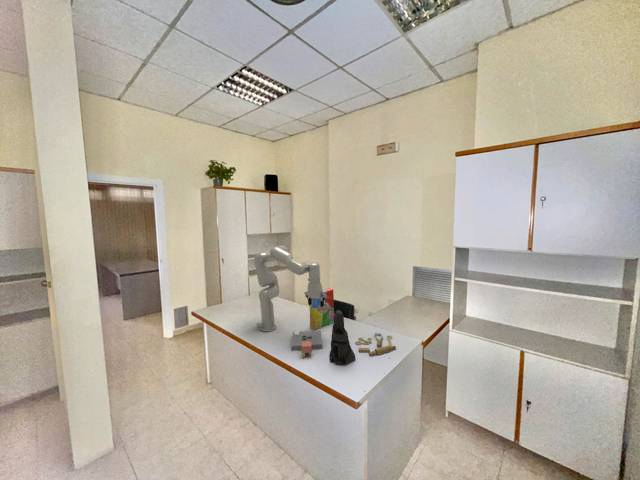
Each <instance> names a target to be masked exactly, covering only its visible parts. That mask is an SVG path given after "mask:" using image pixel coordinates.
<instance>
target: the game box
mask: <svg viewBox="0 0 640 480" xmlns="http://www.w3.org/2000/svg"><path fill="white" fill-rule="evenodd" d="M323 293H325V294H326V295H327V297H326V299H325V300H324V306H323V307H321V306H320V301H321V300H320V299H315V298H311V301H312V304H311V305H309V328H310V329H311V330H312V331H317V330H319V329H321V328H324V327H326V326H329V325H331V324H334V315H335V307H334V306H335V303H334V302H335V301H334V289H333V288H330V287H329V288H325V289H323ZM323 298H324V296H323Z"/></svg>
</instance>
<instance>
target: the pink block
mask: <svg viewBox="0 0 640 480" xmlns="http://www.w3.org/2000/svg"><path fill="white" fill-rule="evenodd" d="M312 350H313V349H312V345H311V341H306V342H302V350H301V353H302V358H306V354H307V353H308V356H311V355H312V353H313V351H312Z"/></svg>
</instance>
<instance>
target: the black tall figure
mask: <svg viewBox="0 0 640 480" xmlns="http://www.w3.org/2000/svg"><path fill="white" fill-rule="evenodd" d="M332 324H333V325H332V330H331V340H330V351H329V354H328V358H329V359H328V360H329V362H330V364H331V363H332V364H335V365H337V366H347V365H349V364H351V363H353V362H355V361H356V360H357V358H356V354H355V352H354V350H353V349H352V346H351V343H350V340H349V334H348V332H347V329H346V328H345V317H344V314H343V312H342V310H341V309H336V310H335V311H334V323H332Z"/></svg>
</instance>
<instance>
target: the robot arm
mask: <svg viewBox="0 0 640 480" xmlns="http://www.w3.org/2000/svg"><path fill="white" fill-rule="evenodd" d="M253 261H254V262H253V263H254V267H255V270H256V275H257V283H258V284H259V286H260V288H263V289H261V290H260V291H259V292H258V299H259V302H260V314H261V315H260V316H261V322H260V323H258V322H257V323H256V324H255V325H256V327H257V328H259V330H260V331H261V332H264V333H266V332H273V331H275V330H276V329H277V328H278V327H277V324H276V323H275V309H274V303H273V301H272V300H273V299H274V298H277V297H278V296H279V295H280V286H279V280H278V276H277V274H276V273H275V272H272V271H269V268H268V267H267V265H266V264H267V263H269V262H274V261H279V262H281V263H282V264H284V265H285V267H286V268H287V269H288V270H289V271H290V272H291V273H293V274H296V275H298V276H302V275H304V274H307V273H308V278H307V281H308V283H307V290H306V291H305V292H304V295H305V298H306V299H307V304H308V306H310V305H311V304H312V301H311V298H315V299H320V300H321V301H320V306H321V307H323V306H324V300H325V299H326V297H327V295H326V294H325V293H323V290H324V289H323V285H322V282H321V269H320V267H321V265H320V263H318V262H311V261H303V262H300V263H298V262H296V261H294V260H293V254H292V253H290V252H289V249H288V247H286V246H285V245H277V246H273V247H271V249H270V250H266V251H260V252H259V253H257V254H256V255H255V257H253ZM264 287H265V288H264ZM323 296H324V298H323Z"/></svg>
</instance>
